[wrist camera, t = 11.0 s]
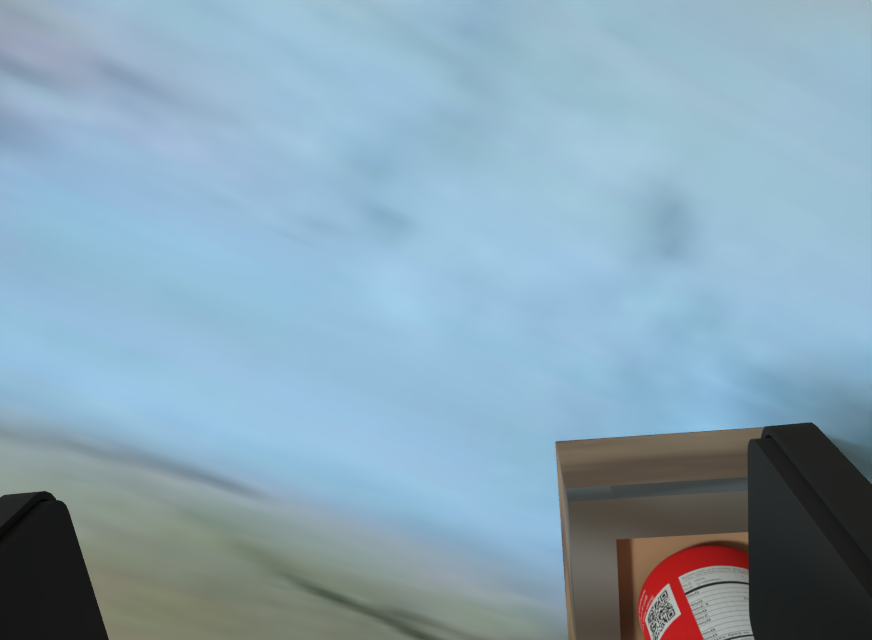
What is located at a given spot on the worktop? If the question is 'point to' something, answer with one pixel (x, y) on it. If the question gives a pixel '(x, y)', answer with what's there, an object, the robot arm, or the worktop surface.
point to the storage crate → (643, 516)
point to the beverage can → (697, 596)
